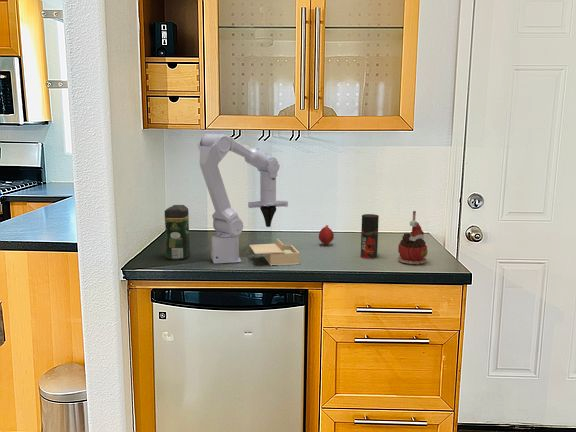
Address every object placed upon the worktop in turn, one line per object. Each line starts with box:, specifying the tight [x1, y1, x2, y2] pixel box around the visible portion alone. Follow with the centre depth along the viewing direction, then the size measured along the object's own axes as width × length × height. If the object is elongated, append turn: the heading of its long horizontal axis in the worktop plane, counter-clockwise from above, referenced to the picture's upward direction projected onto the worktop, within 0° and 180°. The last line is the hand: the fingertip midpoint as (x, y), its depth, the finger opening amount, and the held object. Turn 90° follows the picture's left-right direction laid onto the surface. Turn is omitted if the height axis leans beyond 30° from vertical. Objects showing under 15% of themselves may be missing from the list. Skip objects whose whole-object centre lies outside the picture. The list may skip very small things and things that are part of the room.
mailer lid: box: [249, 238, 285, 255], centre depth 190 cm, size 10×12×2 cm
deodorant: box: [360, 213, 380, 260], centre depth 197 cm, size 6×6×15 cm
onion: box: [318, 224, 335, 246], centre depth 215 cm, size 6×6×8 cm
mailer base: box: [263, 244, 301, 267], centre depth 192 cm, size 10×12×4 cm
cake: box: [397, 210, 428, 265], centre depth 190 cm, size 11×9×18 cm
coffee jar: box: [164, 204, 191, 261], centre depth 195 cm, size 10×8×19 cm
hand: (268, 226), depth 204 cm, fingers closed
